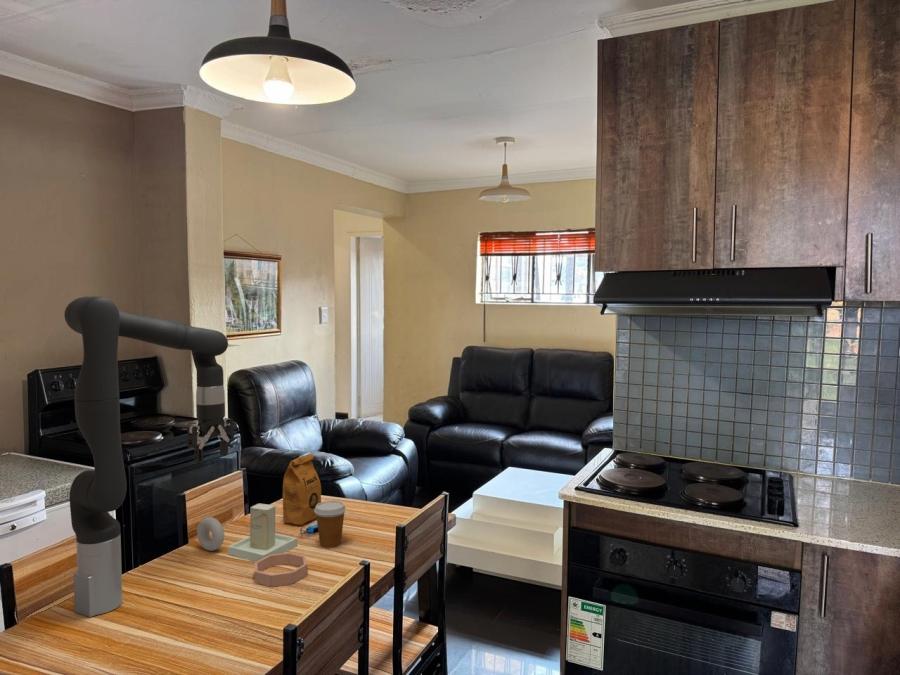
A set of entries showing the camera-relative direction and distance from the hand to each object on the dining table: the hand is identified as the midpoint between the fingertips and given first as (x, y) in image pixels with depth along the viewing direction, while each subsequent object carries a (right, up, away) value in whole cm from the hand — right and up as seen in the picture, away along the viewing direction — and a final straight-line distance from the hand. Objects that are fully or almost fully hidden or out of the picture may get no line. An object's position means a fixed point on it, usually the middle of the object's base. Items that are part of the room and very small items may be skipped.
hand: (211, 458), depth 169 cm
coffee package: (+17, -29, +36) cm, 49 cm away
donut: (-4, -30, +11) cm, 32 cm away
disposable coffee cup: (+30, -30, +15) cm, 45 cm away
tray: (+11, -30, +11) cm, 33 cm away
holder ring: (+21, -30, -6) cm, 37 cm away
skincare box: (+11, -29, +10) cm, 32 cm away
